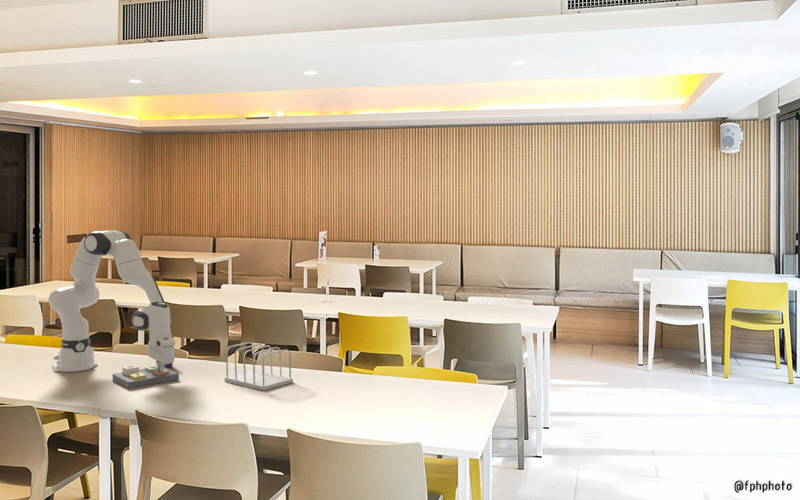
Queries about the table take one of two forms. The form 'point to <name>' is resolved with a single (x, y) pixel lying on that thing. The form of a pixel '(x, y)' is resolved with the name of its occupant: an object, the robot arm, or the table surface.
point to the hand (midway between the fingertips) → (160, 370)
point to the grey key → (130, 370)
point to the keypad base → (145, 379)
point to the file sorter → (255, 377)
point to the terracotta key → (160, 372)
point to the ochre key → (137, 376)
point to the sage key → (151, 368)
